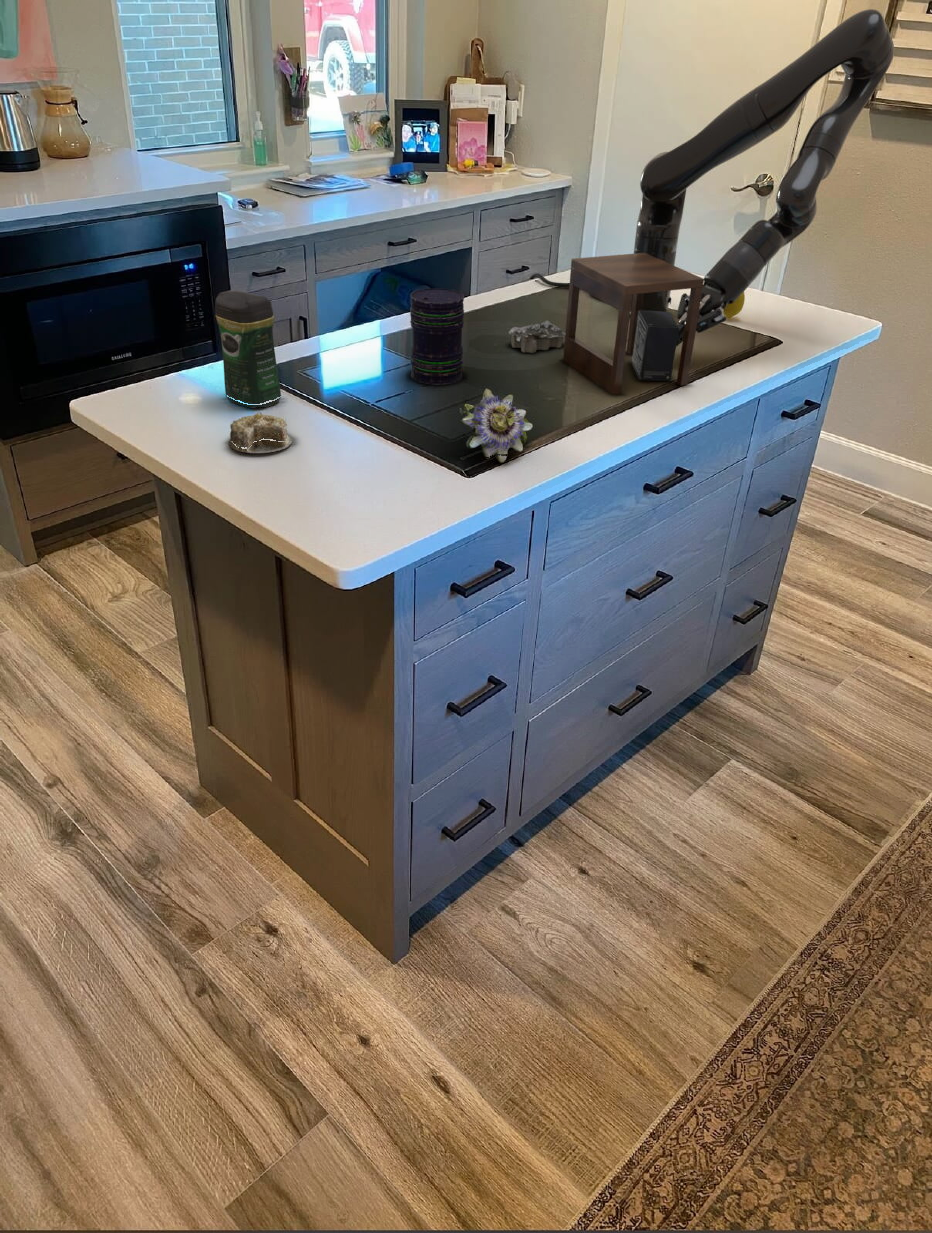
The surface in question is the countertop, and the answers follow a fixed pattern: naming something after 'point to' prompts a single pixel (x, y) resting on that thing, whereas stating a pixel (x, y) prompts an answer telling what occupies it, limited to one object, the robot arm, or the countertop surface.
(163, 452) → the countertop surface
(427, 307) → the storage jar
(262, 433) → the cake
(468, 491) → the countertop surface
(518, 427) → the passion flower
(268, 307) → the coffee jar
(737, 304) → the lemon
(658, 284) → the shelf
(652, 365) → the small box
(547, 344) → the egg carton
